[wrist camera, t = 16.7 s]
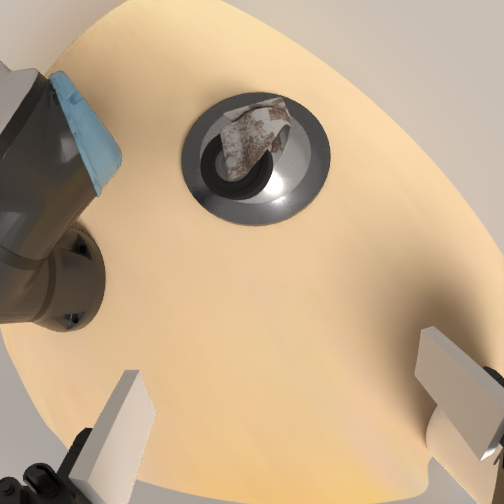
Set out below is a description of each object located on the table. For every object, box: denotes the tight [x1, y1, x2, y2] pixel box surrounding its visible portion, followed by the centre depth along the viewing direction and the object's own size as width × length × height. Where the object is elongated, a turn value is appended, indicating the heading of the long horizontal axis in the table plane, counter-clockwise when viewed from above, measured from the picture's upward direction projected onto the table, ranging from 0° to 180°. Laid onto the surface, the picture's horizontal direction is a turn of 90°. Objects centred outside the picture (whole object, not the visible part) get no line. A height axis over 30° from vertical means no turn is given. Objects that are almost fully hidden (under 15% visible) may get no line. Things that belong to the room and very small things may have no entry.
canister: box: [426, 405, 503, 504], centre depth 20 cm, size 14×14×20 cm
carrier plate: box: [182, 93, 331, 226], centre depth 37 cm, size 19×19×1 cm
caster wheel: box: [200, 97, 291, 201], centre depth 34 cm, size 7×11×10 cm
